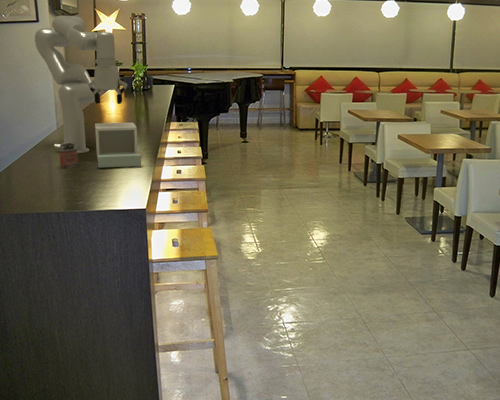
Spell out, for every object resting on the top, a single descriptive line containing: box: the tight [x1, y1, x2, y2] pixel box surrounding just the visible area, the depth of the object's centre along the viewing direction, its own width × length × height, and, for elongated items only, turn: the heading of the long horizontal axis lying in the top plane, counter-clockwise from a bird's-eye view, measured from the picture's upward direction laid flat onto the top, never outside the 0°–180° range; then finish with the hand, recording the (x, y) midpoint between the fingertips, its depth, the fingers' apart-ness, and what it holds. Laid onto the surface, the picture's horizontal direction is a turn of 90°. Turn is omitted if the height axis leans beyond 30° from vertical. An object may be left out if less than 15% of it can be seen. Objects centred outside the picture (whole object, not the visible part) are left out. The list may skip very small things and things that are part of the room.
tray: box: [97, 152, 142, 169], centre depth 251 cm, size 20×17×4 cm
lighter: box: [58, 143, 79, 169], centre depth 244 cm, size 8×3×10 cm, turn 141°
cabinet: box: [94, 122, 139, 161], centre depth 264 cm, size 18×17×14 cm
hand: (108, 103), depth 256 cm, fingers open, 9 cm apart
